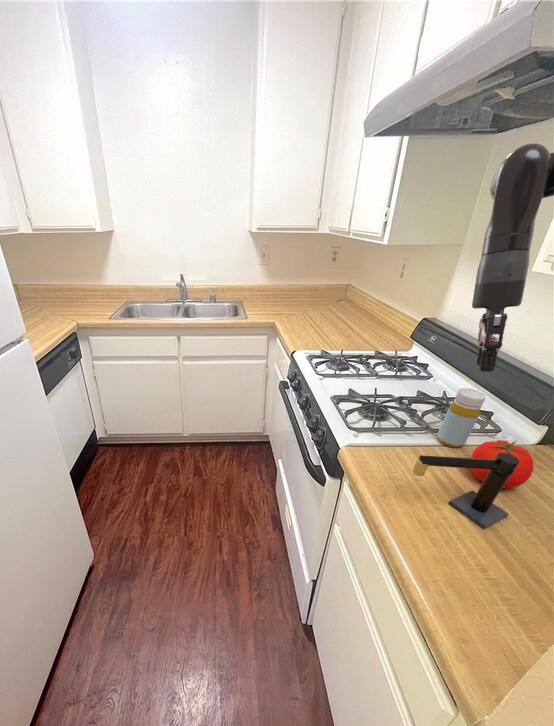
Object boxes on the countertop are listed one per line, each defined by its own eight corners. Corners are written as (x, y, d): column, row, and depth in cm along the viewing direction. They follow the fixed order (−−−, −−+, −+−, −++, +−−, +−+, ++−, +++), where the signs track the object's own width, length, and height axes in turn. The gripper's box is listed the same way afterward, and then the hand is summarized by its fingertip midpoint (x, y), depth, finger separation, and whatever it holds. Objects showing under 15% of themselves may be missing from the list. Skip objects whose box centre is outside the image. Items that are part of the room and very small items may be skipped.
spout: (500, 472, 71) (512, 453, 68) (511, 484, 68) (524, 464, 65) (409, 466, 72) (417, 447, 69) (416, 478, 69) (424, 458, 66)
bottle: (456, 451, 93) (480, 402, 84) (431, 439, 97) (451, 391, 89) (468, 443, 96) (492, 395, 88) (443, 431, 101) (464, 385, 92)
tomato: (513, 472, 86) (534, 438, 80) (526, 502, 77) (551, 466, 71) (459, 460, 90) (475, 426, 84) (466, 487, 81) (485, 452, 75)
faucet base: (470, 493, 79) (492, 455, 73) (507, 517, 73) (533, 477, 67) (448, 503, 76) (468, 464, 70) (483, 529, 70) (509, 489, 64)
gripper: (534, 275, 57) (513, 374, 62) (519, 280, 68) (503, 363, 73) (478, 280, 60) (463, 373, 65) (473, 284, 72) (460, 363, 77)
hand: (484, 368), depth 69 cm, fingers open, 8 cm apart
